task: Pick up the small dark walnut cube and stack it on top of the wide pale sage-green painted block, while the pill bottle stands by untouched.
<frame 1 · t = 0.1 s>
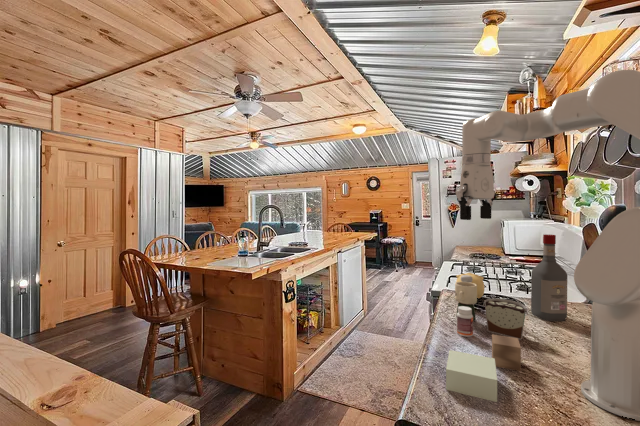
hand: (475, 219, 91), 37 cm above the worktop, tool pointing down, fingers open, 9 cm apart
salt shaker: (466, 308, 122), on the worktop
walnut block: (505, 363, 80), on the worktop
sculpture: (469, 297, 136), on the worktop
liquor: (548, 317, 112), on the worktop
pill bottle: (464, 334, 98), on the worktop
food container: (506, 333, 99), on the worktop
character mug: (465, 320, 110), on the worktop
sage block: (471, 384, 71), on the worktop
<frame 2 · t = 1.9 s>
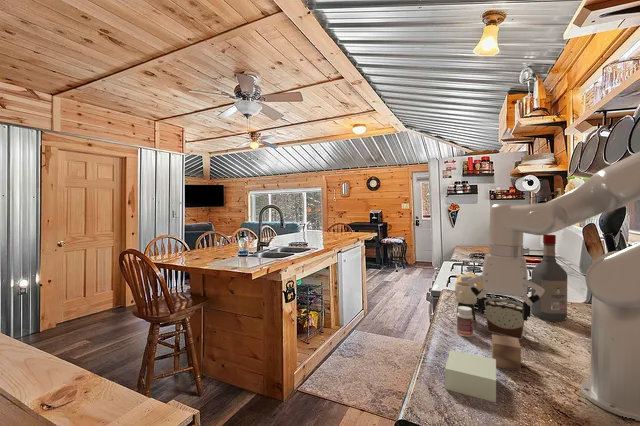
hand: (502, 315, 80), 12 cm above the worktop, tool pointing down, fingers open, 9 cm apart
nothing on the worktop moved.
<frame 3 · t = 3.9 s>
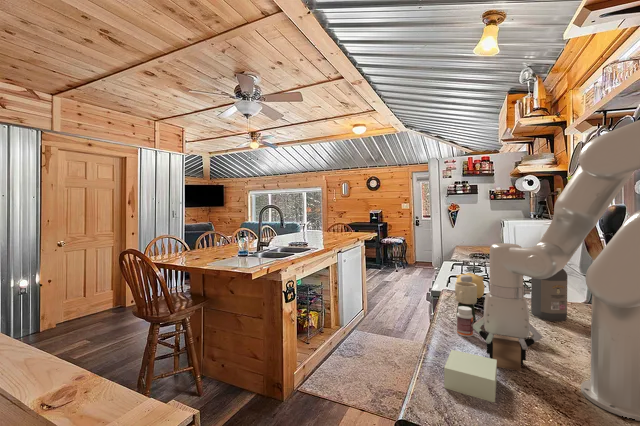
hand: (505, 358, 80), 1 cm above the worktop, tool pointing down, fingers closed on walnut block, 6 cm apart
walnut block: (505, 363, 80), on the worktop, touching gripper
everything else where it was.
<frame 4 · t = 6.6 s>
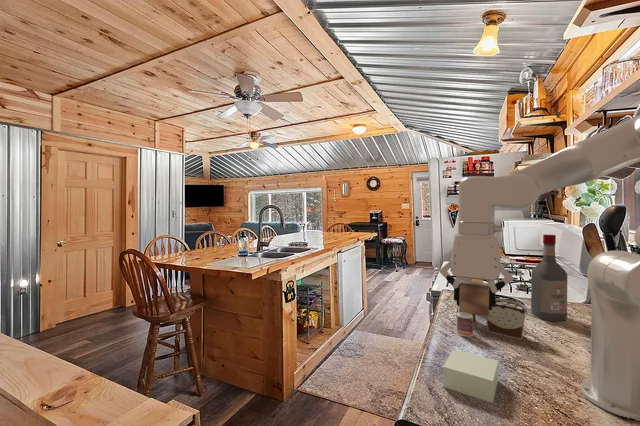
hand: (474, 305, 72), 18 cm above the worktop, tool pointing down, fingers closed on walnut block, 6 cm apart
walnut block: (473, 310, 72), point 17 cm above the worktop, touching gripper
everything else where it was.
when the fingers open (7 cm above the worktop, at t = 9.5 s): walnut block drops 1 cm, resting on sage block.
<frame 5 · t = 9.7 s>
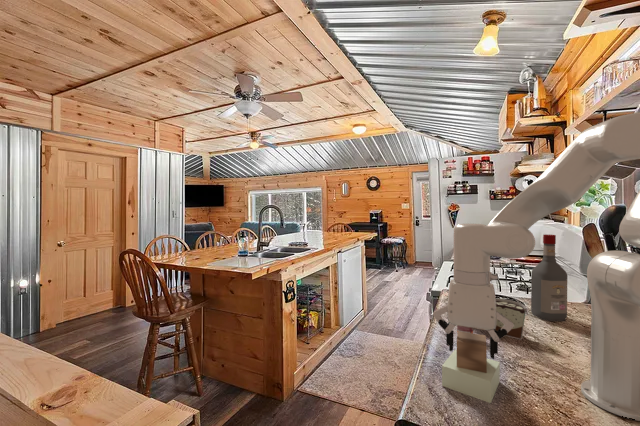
hand: (471, 351, 71), 7 cm above the worktop, tool pointing down, fingers open, 8 cm apart
walnut block: (471, 363, 71), point 5 cm above the worktop, touching sage block
sage block: (471, 384, 71), on the worktop, touching walnut block
everything else where it was.
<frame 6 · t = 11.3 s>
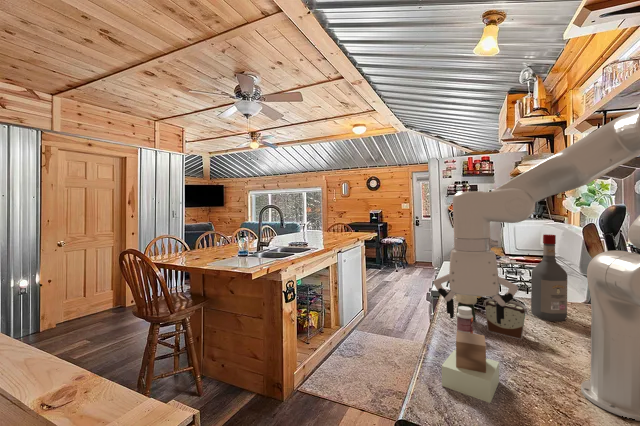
hand: (474, 319, 71), 15 cm above the worktop, tool pointing down, fingers open, 9 cm apart
nothing on the worktop moved.
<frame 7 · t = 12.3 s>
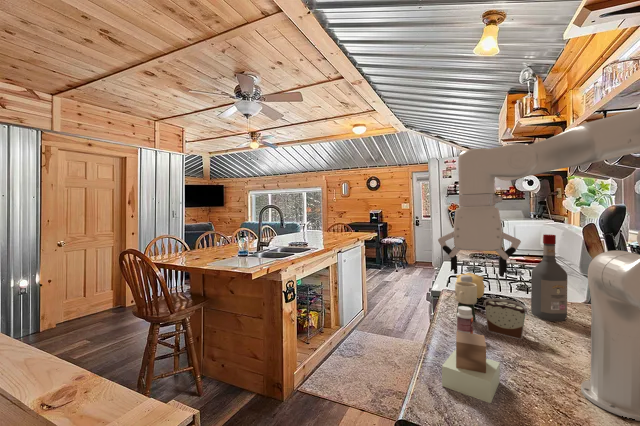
hand: (477, 274, 73), 25 cm above the worktop, tool pointing down, fingers open, 9 cm apart
walnut block: (470, 363, 71), point 5 cm above the worktop
sage block: (471, 385, 71), on the worktop
everything else where it was.
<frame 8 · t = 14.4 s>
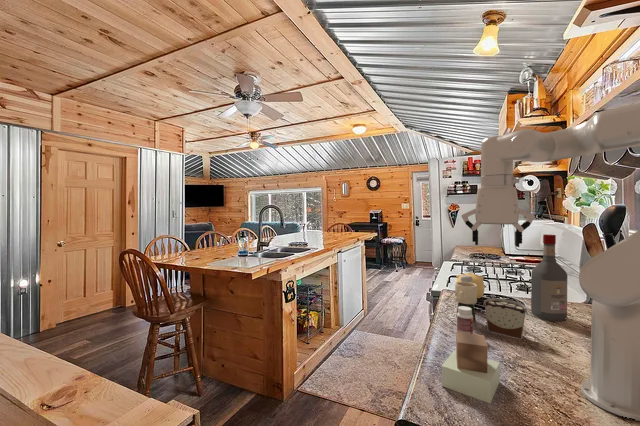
hand: (496, 245, 84), 30 cm above the worktop, tool pointing down, fingers open, 9 cm apart
walnut block: (470, 364, 71), point 5 cm above the worktop, touching sage block
sage block: (470, 385, 71), on the worktop, touching walnut block
everything else where it was.
at the end: walnut block inside the target area on the sage block (0.1 cm from its centre), point 5.0 cm above the sage block's base; walnut block tilted 0°; the gripper is holding nothing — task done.
